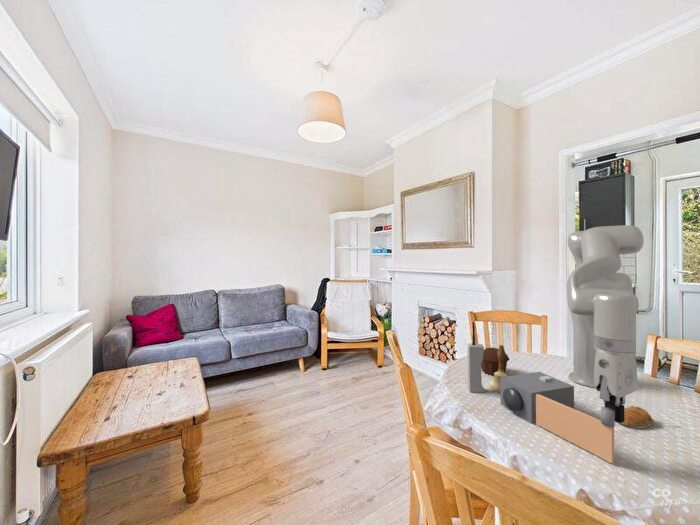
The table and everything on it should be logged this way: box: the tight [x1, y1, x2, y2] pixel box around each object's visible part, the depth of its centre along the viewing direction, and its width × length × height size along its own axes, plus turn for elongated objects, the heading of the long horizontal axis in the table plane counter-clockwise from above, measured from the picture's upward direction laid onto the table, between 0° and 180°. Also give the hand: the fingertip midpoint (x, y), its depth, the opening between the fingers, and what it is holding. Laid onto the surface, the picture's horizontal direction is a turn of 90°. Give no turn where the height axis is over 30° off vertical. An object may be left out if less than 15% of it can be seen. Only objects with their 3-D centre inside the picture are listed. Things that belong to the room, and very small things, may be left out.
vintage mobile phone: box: [466, 321, 485, 394], centre depth 108 cm, size 4×5×25 cm
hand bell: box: [488, 344, 509, 393], centre depth 109 cm, size 8×8×16 cm
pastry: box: [619, 405, 655, 428], centre depth 86 cm, size 9×7×4 cm
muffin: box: [481, 347, 510, 377], centre depth 124 cm, size 12×11×10 cm
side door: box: [535, 394, 616, 464], centre depth 77 cm, size 18×2×12 cm, turn 24°
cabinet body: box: [500, 371, 575, 425], centre depth 94 cm, size 18×12×10 cm
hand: (614, 419), depth 71 cm, fingers closed
